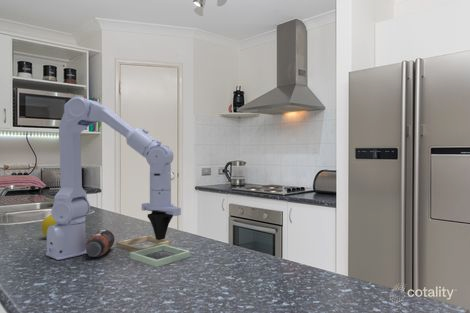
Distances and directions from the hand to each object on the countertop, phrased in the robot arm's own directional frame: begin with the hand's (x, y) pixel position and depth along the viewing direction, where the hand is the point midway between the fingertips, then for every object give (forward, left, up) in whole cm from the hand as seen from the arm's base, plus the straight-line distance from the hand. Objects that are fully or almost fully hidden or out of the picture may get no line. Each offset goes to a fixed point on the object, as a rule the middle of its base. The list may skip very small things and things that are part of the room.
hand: (160, 239), depth 95 cm
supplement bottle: (-5, +20, -2) cm, 21 cm away
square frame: (0, 0, -5) cm, 5 cm away
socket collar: (+4, +13, -5) cm, 14 cm away
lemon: (-10, +45, -5) cm, 46 cm away
